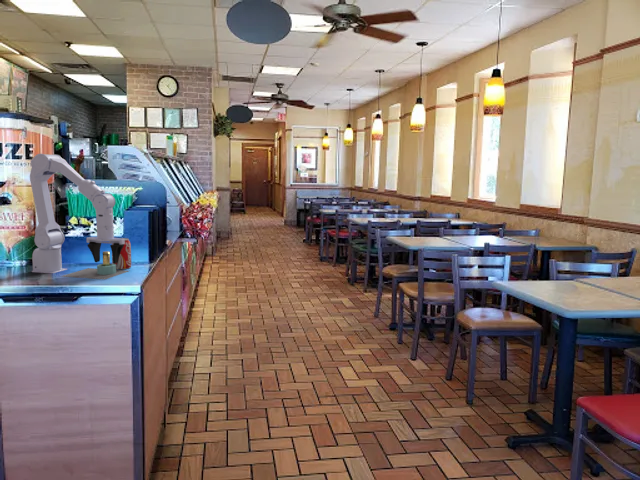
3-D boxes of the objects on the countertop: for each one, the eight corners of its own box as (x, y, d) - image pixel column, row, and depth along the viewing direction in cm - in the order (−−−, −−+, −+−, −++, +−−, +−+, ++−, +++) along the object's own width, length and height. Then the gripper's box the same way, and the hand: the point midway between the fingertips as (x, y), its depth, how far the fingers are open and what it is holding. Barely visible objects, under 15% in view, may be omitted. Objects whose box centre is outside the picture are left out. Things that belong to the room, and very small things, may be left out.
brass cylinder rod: (101, 273, 188) (101, 252, 187) (105, 272, 191) (105, 251, 190) (107, 273, 188) (107, 252, 187) (111, 272, 190) (111, 251, 189)
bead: (93, 274, 187) (93, 266, 186) (104, 270, 193) (103, 263, 193) (109, 275, 186) (109, 267, 185) (119, 271, 192) (119, 264, 192)
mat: (60, 277, 182) (60, 276, 182) (88, 269, 198) (88, 268, 198) (105, 280, 179) (105, 279, 179) (130, 271, 194) (130, 270, 194)
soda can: (124, 271, 195) (124, 240, 193) (108, 270, 196) (107, 239, 195) (135, 267, 202) (134, 238, 200) (119, 266, 203) (118, 237, 202)
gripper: (80, 226, 184) (82, 263, 186) (116, 228, 182) (117, 265, 184) (92, 224, 191) (94, 259, 193) (127, 226, 189) (128, 262, 190)
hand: (106, 262), depth 189 cm, fingers open, 7 cm apart
